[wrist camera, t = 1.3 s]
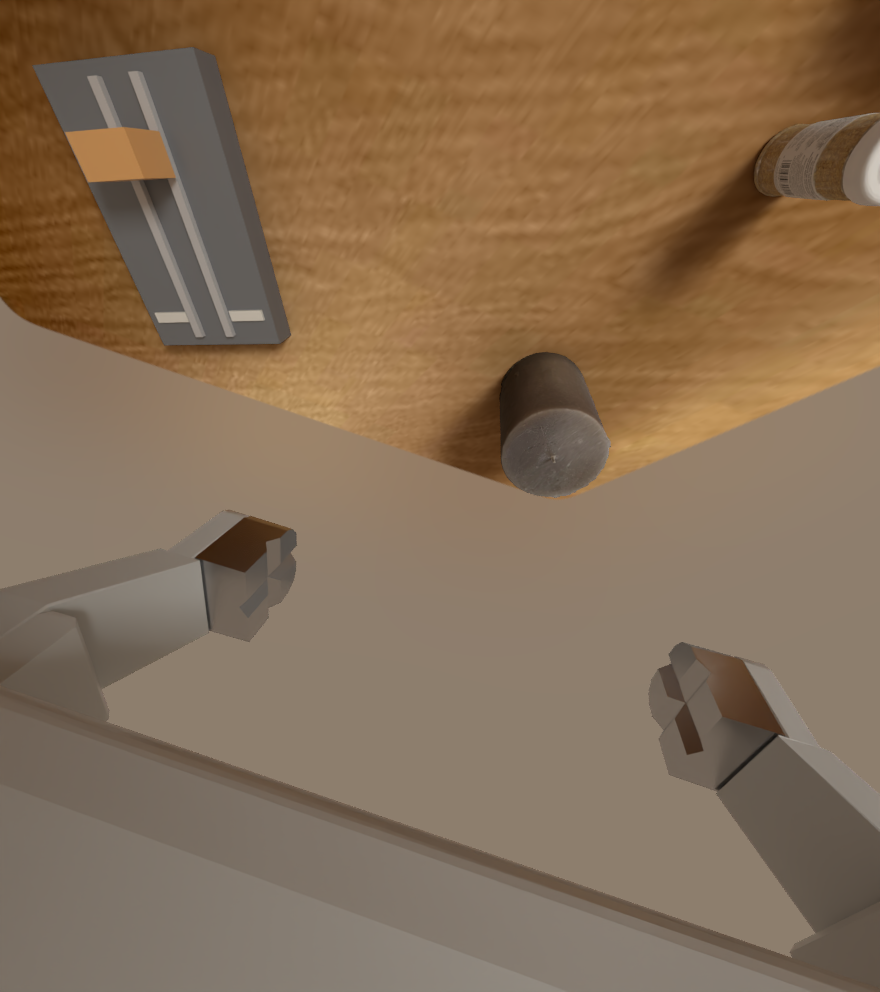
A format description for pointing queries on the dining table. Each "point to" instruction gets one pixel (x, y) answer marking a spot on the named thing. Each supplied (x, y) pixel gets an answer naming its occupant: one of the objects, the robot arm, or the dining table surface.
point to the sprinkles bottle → (824, 161)
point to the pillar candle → (550, 427)
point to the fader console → (178, 195)
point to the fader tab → (121, 154)
